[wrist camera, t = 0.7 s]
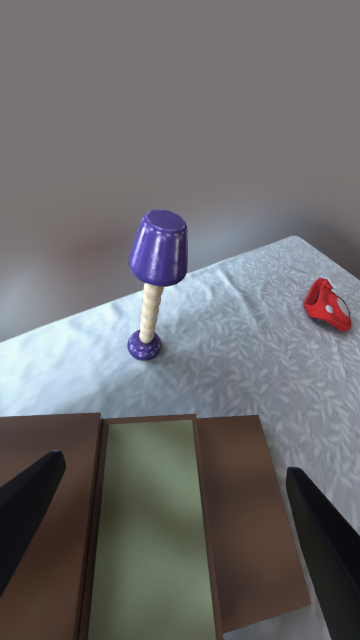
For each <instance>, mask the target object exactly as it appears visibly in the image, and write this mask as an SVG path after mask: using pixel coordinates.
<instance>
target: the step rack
mask: <svg viewBox="0 0 360 640" xmlns="http://www.w3.org/2000/svg"><path fill="white" fill-rule="evenodd" d="M51 450H60V451H62V453H63V455H64V458H65V462H66V470H65V473H64V475H63V477H62V479H61V482H60V484H59V486H58V488H57V490H56V493H55V495H54V497H53V499H52V502H51V504H50V506H49V508H48V510H47V512H46V514H45V517H44V518H43V520H42V522H41V524H40V526H39V528H38V530H37V532H36V534H35V535H34V537H33V539H32V541H31V543H30V545H29V546H28V548H27V550H26V552H25V554H24V556H23V558H22V559H21V561H20V563H19V565H18V567H17V569H16V571H15V572H14V574H13V576H12V578H11V580H10V582H9V584H8V585H7V587H6V589H5V591H4V593H3V595H2V597H1V598H0V640H223V633H226V632H229V631H232V630H235V629H238V628H241V627H244V626H247V625H250V624H253V623H257V622H260V621H263V620H266V619H269V618H272V617H275V616H278V615H281V614H284V613H287V612H290V611H293V610H296V609H299V608H302V607H305V606H308V605H311V601H310V598H309V594H308V590H307V587H306V583H305V580H304V576H303V573H302V569H301V565H300V562H299V558H298V555H297V551H296V548H295V544H294V540H293V537H292V533H291V530H290V526H289V523H288V519H287V515H286V512H285V508H284V505H283V501H282V498H281V494H280V491H279V487H278V483H277V480H276V476H275V473H274V469H273V466H272V462H271V458H270V455H269V451H268V448H267V444H266V441H265V437H264V433H263V430H262V426H261V423H260V419H259V416H258V415H248V416H231V417H214V418H196V414H184V415H165V416H146V417H127V418H108V419H103V418H102V415H101V413H100V412H99V413H76V414H54V415H32V416H10V417H0V487H1V486H3V485H4V484H5V483H7V482H8V481H9V480H11V479H12V478H14V477H15V476H16V475H18V474H19V473H20V472H22V471H23V470H25V469H26V468H27V467H29V466H30V465H32V464H33V463H34V462H36V461H37V460H38V459H40V458H41V457H43V456H44V455H45V454H47V453H48V452H50V451H51Z"/></svg>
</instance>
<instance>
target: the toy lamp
mask: <svg viewBox="0 0 360 640" xmlns="http://www.w3.org/2000/svg"><path fill="white" fill-rule="evenodd" d="M187 249H188V242H187V226H186V223H185V221H184V220H183V218H181V217H180V216H179V215H177V214H175V213H173V212H170V211H167V210H160V209H159V210H152V211H149V212H148V213H146V215H145V216H144V217H143V219H142V221H141V224H140V227H139V230H138V232H137V235H136V238H135V241H134V244H133V247H132V249H131V252H130V256H129V267H130V270H131V271H132V273H133V274H134V275H135V276H136V277H137V278H138V279H139V280H141V281H142V282H144V283H145V285H144V293H145V294H144V296H143V306H142V310H141V312H142V316H141V325H140V330H137V331H136V332H134V333H133V334H132V335H131V336H130V338H129V340H128V350H129V352H130V354H131V355H132V356H133V357H134V358H136V359H139V360H150V359H152V358H154V357H156V356H157V355H158V353H159V351H160V349H161V341H160V338H159V336H158V335H157V334H156V333H155V332H154V331H155V327H156V326H155V324H156V322H157V315H158V312H159V305H160V302H161V295H162V292H163V287H166V286H167V287H168V286H172V285H175V284H177V283H179V282H180V281H181V280H183V279H184V277H185V275H186V273H187V262H188V261H187V260H188V255H187V253H188V250H187Z"/></svg>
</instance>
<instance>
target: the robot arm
mask: <svg viewBox="0 0 360 640" xmlns="http://www.w3.org/2000/svg"><path fill="white" fill-rule="evenodd" d="M65 470H66V462H65V458H64V455H63V453H62V451H60V450H51V451H50V452H48V453H47V454H45V455H44V456H43V457H41V458H40V459H38V460H37V461H36V462H34V463H33V464H32V465H30V466H29V467H27V468H26V469H25V470H23V471H22V472H20V473H19V474H18V475H16V476H15V477H14V478H12V479H11V480H9V481H8V482H7V483H5V484H4V485H3V486H1V487H0V598H1V597H2V595H3V593H4V591H5V589H6V587H7V585H8V584H9V582H10V580H11V578H12V576H13V574H14V572H15V571H16V569H17V567H18V565H19V563H20V561H21V559H22V558H23V556H24V554H25V552H26V550H27V548H28V546H29V545H30V543H31V541H32V539H33V537H34V535H35V534H36V532H37V530H38V528H39V526H40V524H41V522H42V520H43V518H44V517H45V514H46V512H47V510H48V508H49V506H50V504H51V502H52V499H53V497H54V495H55V493H56V490H57V488H58V486H59V484H60V482H61V479H62V477H63V475H64V473H65ZM286 490H287V494H288V498H289V502H290V506H291V510H292V514H293V518H294V522H295V526H296V530H297V534H298V538H299V542H300V546H301V549H302V553H303V556H304V559H305V562H306V565H307V568H308V571H309V574H310V577H311V580H312V583H313V586H314V589H315V592H316V595H317V598H318V601H319V604H320V607H321V610H322V613H323V616H324V618H325V621H326V624H327V627H328V630H329V633H330V636H331V639H332V640H360V536H359V534H358V533H357V532H356V531H355V530H354V529H353V528H352V526H351V525H350V524H349V523H348V522H347V521H346V520H345V518H344V517H343V516H342V515H341V514H340V513H339V511H338V510H337V509H336V508H335V507H334V506H333V505H332V503H331V502H330V501H329V500H328V499H327V498H326V497H325V495H324V494H323V493H322V492H321V491H320V490H319V489H318V487H317V486H316V485H315V484H314V483H313V482H312V480H311V479H310V478H309V477H308V476H307V475H306V474H305V472H304V471H303V470H302V469H300V468H298V467H288V469H287V476H286Z"/></svg>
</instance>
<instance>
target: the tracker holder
mask: <svg viewBox="0 0 360 640" xmlns="http://www.w3.org/2000/svg"><path fill="white" fill-rule="evenodd" d="M318 277H319V279H318V280H316V281H315V282H314V284H313V285H312V287H311V289H310V292H309V294H308V296H307V298H306V300H305V302H304V304H303V305H304V307H305V309H306V312H307V314H308V316H309V317H312V318H318V319H321V320H324V321H326V322H328V323H330V324H331V325H332V326H334V327H335V328H337V329H338V330H340V331H343V332H344V331H347V330H349V329H350V328H351V319H350V312H349V309H348V307H347V305H346V304H345V302H344V301H343V300H342V299H341V298H340V297H339V296H337V295H336V294H335V293H334V292H332V291H331V289H336V287H335V285H334V284H333V283H332V281H331V280H330V278H329V277H326V276H322V275H319V276H318ZM319 292H320V293H319ZM318 294H319V298H318V300H317V302H316V299H317V297H318ZM315 302H316V303H315Z"/></svg>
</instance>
